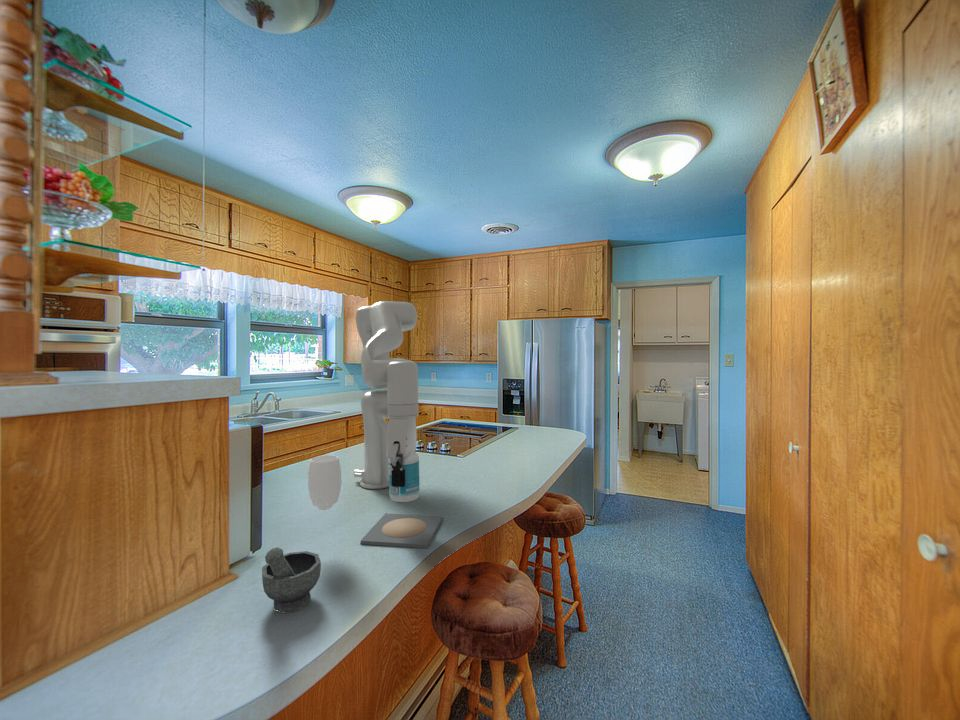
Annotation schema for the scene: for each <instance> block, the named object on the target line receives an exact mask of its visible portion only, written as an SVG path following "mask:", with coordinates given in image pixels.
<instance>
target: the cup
mask: <svg viewBox="0 0 960 720" xmlns="http://www.w3.org/2000/svg"><path fill="white" fill-rule="evenodd" d="M308 463H309V464H308V471H307V489H308V493H309V499H310V501H311V504H312V505H313V506H314V507H316V508H317V509H319V510H321V511H327V510H329V509H331V508H332V507H333V505H335V504H336V503H337V502H338V501H339V497H340V494H341V488H342V470H341V469H342V467H341V464H340V458H339V456H337V455H331V454H328V455H318V456H315V457H312V458H310V460H309V462H308Z"/></svg>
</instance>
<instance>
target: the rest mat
mask: <svg viewBox="0 0 960 720" xmlns="http://www.w3.org/2000/svg"><path fill="white" fill-rule="evenodd" d="M382 515H383V516H381V517H380V518H379V519H378V521H377V522H376V523H375V524H374V525H373V526H372V527H371V529H370V530H369V531H368V532H367V533H366V534H365V535H364V536H363V537H362V538H361V540H360V545H370V546H386V547H403V548H404V547H405V548H417V549H418V548H419V549H428V547H429V545H430V543H432V542H431V541H432V540H433V538H434V536H435V534H436V532H437V531H438V529H439V527H440V525H441V523H442V522H443V520H442V519H444V517H443V515H442V516H441V515H425V514H405V513H387V512H386V513H384V514H382Z"/></svg>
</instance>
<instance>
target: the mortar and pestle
mask: <svg viewBox="0 0 960 720" xmlns="http://www.w3.org/2000/svg"><path fill="white" fill-rule="evenodd" d="M264 559H265V560H264V561H265V563H266V564H265V565H263V566H262V567H261V576H262V577H261V579H262V581H261V582H262V587H263V592H264V593H265V595H266V596H267V597H268V598H269V599H270V600H272V601H273V610H274V609H275V610H278V611H280V612H282V613H281V614H284V613H283V612H289V613H295V612H296V611H299V610H301V609H302V608H303V609H304V608H305V607H306V606H307V605H308V604H309V603H310V602H311V598H312V596H311V591H312V590H313V589H314V587H315V586H316V585H317V583H318V581H319V579H320V575H321V568H322V567H321V566H322V565H321V559H320V556H319V554H318V553H315V552H311V551H307V550H306V551H303V550H302V551H295V552H288V553H285V554H284V551H283V549H282V548H280V547H278V546H277V547H274V548H271V549H270V550H269V551H268V552H267V553H266V554H265V556H264ZM300 608H301V609H300ZM294 611H295V612H294ZM280 612H279V613H280Z"/></svg>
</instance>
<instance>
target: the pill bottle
mask: <svg viewBox="0 0 960 720" xmlns="http://www.w3.org/2000/svg"><path fill="white" fill-rule="evenodd" d="M411 449H412V450H413V445H412V448H411ZM402 456H403V455H398V456H397V457H402ZM397 461H399V462H400V465H401V460H397ZM403 470H405V486H404V487H393V486H392V470H391V461H390V459H389V487H388V489H389V490H388V491H389V493H388V494H389V498H390V500H391V501H393V502H396V503H407V502H408V503H409V502H412V501H416V500H417V499H418V498H419V496H420V491H421V489H420V456H419V454H418V453H417V452H416V451H415V452H413V451H412V452H411V454H410V455H409V457H407V458H406V459H405V463H404V469H403Z"/></svg>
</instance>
